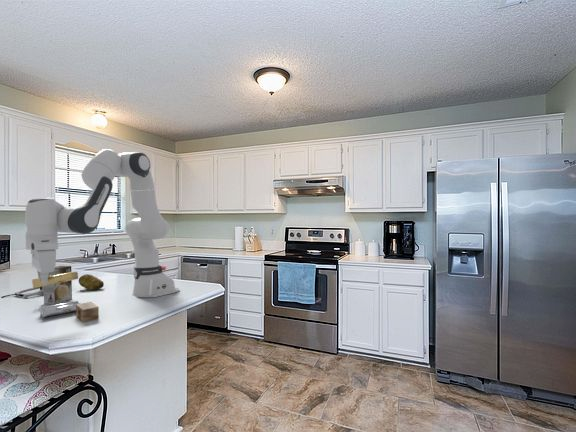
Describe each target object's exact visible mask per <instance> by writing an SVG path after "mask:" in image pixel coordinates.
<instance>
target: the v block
mask: <svg viewBox="0 0 576 432" xmlns="http://www.w3.org/2000/svg"><path fill="white" fill-rule="evenodd" d="M76 304H81V302H79V301H78V300H75V301H68V302H61V303H57V304H50V305H46V306H41V307H40V308H39V313H40V314H39V316H40V318H41V319H42V320H43V321H46V320H50V319H55V318H56V319H57V318H60V317H65V316H70V315H71V316H72V315H76Z"/></svg>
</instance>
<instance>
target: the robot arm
mask: <svg viewBox="0 0 576 432" xmlns="http://www.w3.org/2000/svg"><path fill="white" fill-rule="evenodd" d="M115 178H128V179H129V188H130V190H129V191H130V198H131V199H130V200H131V206H132V208H133V209H134V210H135V211H136V212H137V215H138V216H139V217H136V218H132V219H129V220H128V221H127V222H126V224H125V227H124V228H125V233H126V235H127V236H128V237H129V239H130V240H131V243H132V246H133V250H134V266H135V267H134V269H133V276H134V284H133V289H132V292H131V293H132V294H131V295H132V296H133V297H136V298H159V297H161V296H166V295H169V294H173V293H174V294H175V293H177V292H179V291H180V288H179V287H177V286H176V285H175V281H174V279H173V278H172V277H171V276H169V275H167V274H166V273H165V272H163V271H166V270H167V267H166V266H161V265H160V251H159V249H158V248H157V246H156V245H155V243H154V240H159V239H163V238H165V237H167V235H168V234H169V231H170V226H169V223H168V221H167V220H166V219H164V217H163V216H162V214H161V213H160V210H159V208H158V207H159V206H158V205H157V197H156V190H155V183H154V178H153V175H152V172H151V161H150V158H149V157H148V156H147V154H145V153H144V152H140V151H134V152H131V151H130V152H122V153H118V152H117V151H115V150H113V149H108V148H107V149H106V148H105V149H102V150H100V151H99V152H97V153H96V154H95V155H94V156H93V157H92V158H91V159H90V160H89V162H88V163H87V164H86V166H85V167H84V168H83V170H82V172H81V179H82V182H83V183H84V184H85V185H86V186H87V187H88V188H89V189H91V190H92V191H91V192H90V194H89V196H88V198H87V200H86V202H85V203H84V204H82V205H80V206H76V207H75V206H73V207H72V206H71V207H69V206H66V205H63V204H61V203H59V202H58V201H56V199H55V198H54V197H50V196H49V197H48V196H47V197H36V198H32V199H30V200H29V201H27V203H26V207H25V214H24V215H25V216H24V218H25V219H24V220H25V226H26V233H25V250H30V255H31V266H32V268H34V269H35V270H36V273H37V279H38V278H41V284H46V283H48V275H49V273H50V272H54V270H55V267H56V263H57V262H56V261H57V250H58V249H59V240H58V238H59V237H58V234H59V233H68V234H69V233H70V234H71V233H72V234H73V233H74V234H82V235H87V234H88V235H89V234H92V232H94V231H95V230H96V229H97V228H98V226H99V223H100V220H101V215H102V212H103V210H104V209H105V206H106V204H107V202H108V199H109V197H110V195H111V193H112V190H113V180H114V179H115Z"/></svg>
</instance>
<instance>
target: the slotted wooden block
mask: <svg viewBox="0 0 576 432" xmlns="http://www.w3.org/2000/svg"><path fill="white" fill-rule="evenodd" d="M80 303H81V302H80ZM75 315H76V318H77V319H79V320H80V321H81V322H82V323H86V322H91V321H97V320H99V318H100V317H99V306H98V305H96V304H95V303H94V302H93V301H89V302H82V303H81V304H76V314H75Z"/></svg>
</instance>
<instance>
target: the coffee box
mask: <svg viewBox="0 0 576 432" xmlns="http://www.w3.org/2000/svg"><path fill="white" fill-rule="evenodd" d="M69 272H72V265H58V266H57V265H56V266H55V270H54V272H50V273H49V275H48V276H53V275H59V274H64V273H69ZM72 283H73V280H71V281H66V282H61V283H56V284H51V285H46V286H44V293H43V304H45V305H57V304H61V303H64V302H66V300H67V301H70V300H72V299H73V286H72V285H73V284H72Z"/></svg>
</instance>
